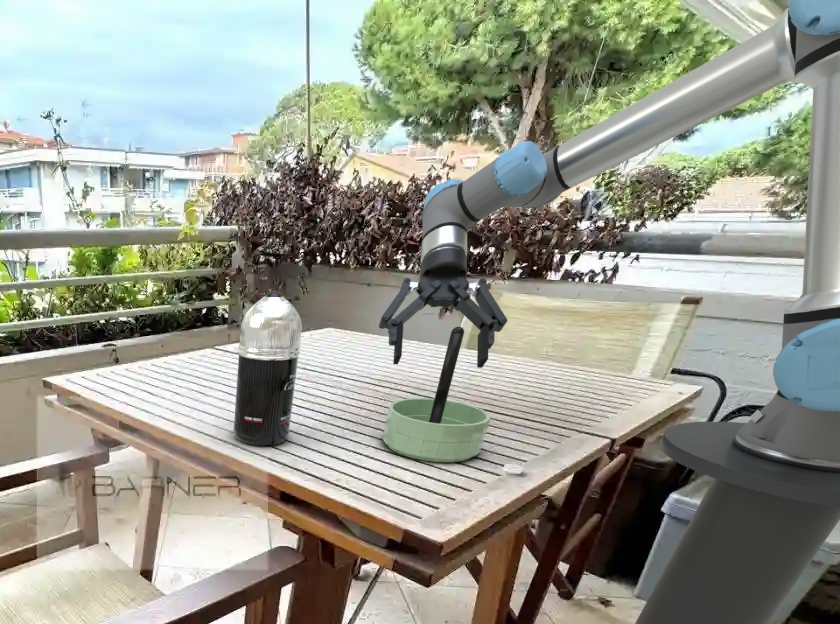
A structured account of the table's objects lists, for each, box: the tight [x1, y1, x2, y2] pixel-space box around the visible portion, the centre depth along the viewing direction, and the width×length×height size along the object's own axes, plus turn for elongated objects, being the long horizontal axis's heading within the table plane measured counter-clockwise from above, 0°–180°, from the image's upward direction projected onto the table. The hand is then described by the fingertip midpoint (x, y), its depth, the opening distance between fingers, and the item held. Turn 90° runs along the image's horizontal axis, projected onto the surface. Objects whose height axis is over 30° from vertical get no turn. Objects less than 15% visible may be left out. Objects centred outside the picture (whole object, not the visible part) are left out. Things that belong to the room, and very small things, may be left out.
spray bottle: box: [233, 290, 303, 447], centre depth 94 cm, size 10×10×25 cm
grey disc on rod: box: [429, 326, 465, 424], centre depth 90 cm, size 5×5×19 cm
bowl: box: [382, 397, 491, 463], centre depth 93 cm, size 15×15×6 cm
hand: (439, 361), depth 95 cm, fingers open, 13 cm apart
